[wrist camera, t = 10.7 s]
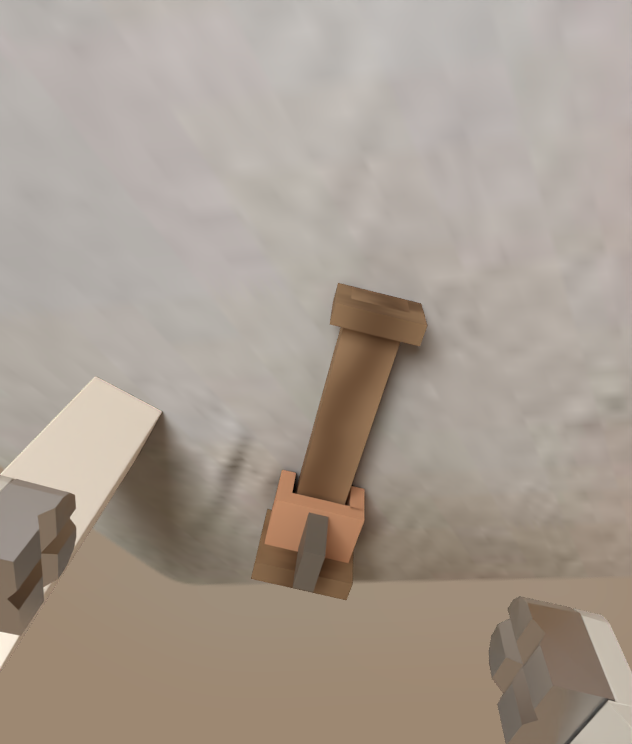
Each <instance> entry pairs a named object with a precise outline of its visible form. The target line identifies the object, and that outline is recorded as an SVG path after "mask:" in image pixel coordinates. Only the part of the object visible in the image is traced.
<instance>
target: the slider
mask: <svg viewBox="0 0 632 744" xmlns="http://www.w3.org/2000/svg"><path fill="white" fill-rule="evenodd" d="M295 475H296V473H294V472H290V471H285V470H282V472H281V476H280V480H279V484H278V488H277V492H276V496H275V500H274V504H273V508H272V512H271V516H270V521H269V525H268V530H267V534H266V539H265V543H264V544H267V545H271V546H275V547H280V548H284V549H288V550H293V551H297V552H298V553H297V560H296V567H295V574H294V581H293V588H296V589H300V590H305V591H309V592H313V591H314V588H315V585H316V582H317V579H318V576H319V573H320V570H321V567H322V565H323V562H324V559H325V558H328V559H332V560H336V561H341V562H345V563H349V560H350V558H351V555H352V552H353V550H354V547H355V544H356V542H357V539H358V536H359V534H360V531H361V528H362V525H363V523H364V489H362V488H358V487H353V486H351V488H350V491H349V493H348V496H347V499H346V502H345V505H342V504H338V503H334V502H330V501H325V500H321V499H317V498H312V497H308V496H304V495H299V494H295V493H292V492H293V486H294V481H295Z"/></svg>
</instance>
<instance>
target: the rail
mask: <svg viewBox="0 0 632 744" xmlns="http://www.w3.org/2000/svg"><path fill="white" fill-rule="evenodd" d="M330 324H331V325H335V326H339V327H341V328H340V332H339V335H338V339H337V343H336V346H335V350H334V353H333V357H332V361H331V364H330V368H329V372H328V375H327V379H326V382H325V386H324V390H323V393H322V397H321V401H320V404H319V408H318V411H317V415H316V419H315V422H314V426H313V430H312V433H311V437H310V440H309V444H308V448H307V451H306V455H305V459H304V462H303V466H302V469H301V473H300V477H299V480H298V484H297V488H296V491H295V494H299V495H304V496H308V497H312V498H317V499H321V500H325V501H330V502H334V503H338V504H342V505H345V502H346V499H347V496H348V493H349V491H350V488H351V485H352V482H353V479H354V476H355V473H356V470H357V467H358V464H359V461H360V458H361V455H362V453H363V450H364V447H365V444H366V441H367V438H368V435H369V432H370V429H371V426H372V423H373V420H374V417H375V415H376V412H377V409H378V406H379V403H380V400H381V397H382V394H383V391H384V388H385V385H386V382H387V379H388V377H389V374H390V371H391V368H392V365H393V362H394V359H395V356H396V353H397V350H398V347H399V344H400V342H404V343H408V344H412V345H416V346H420V344H421V342H422V339H423V336H424V333H425V331H426V328H427V323H426V319H425V316H424V312H423V309H422V305H421V303H417V302H413V301H409V300H405V299H401V298H397V297H393V296H389V295H385V294H381V293H377V292H373V291H369V290H365V289H360V288H356V287H352V286H348V285H344V284H340V283H338V285H337V289H336V293H335V297H334V301H333V306H332V312H331V319H330ZM271 512H272V510H269V509H267V513H266V517H265V521H264V525H263V530H262V534H261V538H260V542H259V547H258V551H257V555H256V560H255V564H254V568H253V572H252V577H251V579H255V580H259V581H264V582H268V583H272V584H277V585H281V586H286V587H290V588H293V581H294V574H295V567H296V560H297V553H298V552H297V551H293V550H288V549H284V548H280V547H275V546H271V545H267V544H264V543H265V539H266V534H267V530H268V525H269V521H270V516H271ZM352 584H353V552H352V555H351V558H350V560H349V563H345V562H341V561H336V560H332V559H328V558H325V559H324V562H323V565H322V567H321V570H320V573H319V576H318V579H317V582H316V585H315V588H314V591H313V592H312V593H317V594H321V595H325V596H330V597H334V598H339V599H343V600H347V597H348V595H349V592H350V589H351V587H352ZM295 589H296V588H295ZM299 590H300V589H299ZM303 591H305V590H303ZM308 592H309V591H308Z"/></svg>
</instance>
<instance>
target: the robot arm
mask: <svg viewBox="0 0 632 744" xmlns="http://www.w3.org/2000/svg"><path fill="white" fill-rule="evenodd" d="M75 509H76V501H75V495H74V494H72V493H70V492H66V491H62V490H58V489H54V488H50V487H46V486H43V485H39V484H35V483H31V482H27V481H23V480H19V479H14V478H10V477H6V476H2V475H0V632H4V633H9V634H14V635H19V636H21V635H22V634H23V632H24V631H25V629H26V628H27V626H28V625H29V623H30V622H31V620H32V619H33V617H34V616H35V614H36V613H37V611H38V609H39V608H40V606H41V605H42V603H43V602H44V589H43V587H45V586H47V585H48V584H50V583H52V582H54V581H56V580H57V579H59V577H60V576H61V574H62V572H63V571H64V569H65V568H66V566H67V564H68V562H69V559H70V557H71V554H72V552H73V550H74V546H75V541H76V525H75V524H74V523H73V522H72V520H71V519H70V516H71V515H72V514H73V512H74V511H75ZM508 612H509V615H510V619H508V620H506V621H504V622H501V623H499V624H498V625H497V627H496V629H495V631H494V633H493V634H492V636H491V642H490V648H489V665H490V670H491V675H492V679H493V680H494V682H495V683H496V684H497V685H498V687H499V688H500V690H501V691H502V692H503V695H502V697H501V698H500V700H499V702H498V710H499V714H500V719H501V724H502V729H503V733H504V738H505V743H506V744H632V672H631V670H630V667H629V665H628V663H627V661H626V658H625V657H624V654H623V652H622V650H621V648H620V645H619V643H618V641H617V639H616V637H615V634H614V632H613V630H612V628H611V626H610V624H609V622H608V621H607V619H606V618H604V616H603V615H600V614H596V613H591V612H587V611H582V610H578V609H572V608H570V607H566V606H562V605H557V604H552V603H548V602H543V601H539V600H534V599H530V598H525V597H518V598H516V599H514V600H513V601H512V603H511V604H510V606H509V607H508Z"/></svg>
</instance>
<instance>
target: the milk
mask: <svg viewBox="0 0 632 744" xmlns="http://www.w3.org/2000/svg"><path fill="white" fill-rule="evenodd" d="M161 413H162V411H161V410H159V409H157V408H155V407H153V406H151V405H149V404H147V403H146V402H144V401H142V400H140V399H138V398H136V397H134V396H132V395H130V394H129V393H127V392H125V391H123V390H121V389H119V388H117V387H115V386H113V385H112V384H110V383H108V382H106V381H104V380H102V379H100V378H98V377H96V376H95V377H94V378H93V379H92V380H91V381H90V382H89V383H88V384H87V385H86V386H85V387H84V388H83V389H82V390H81V391H80V392H79V393H78V394H77V395H76V396H75V398H74V399H73V400H72V401H71V402H70V403H69V404H68V405H67V406H66V407H65V408H64V409H63V410H62V411H61V412H60V413H59V414H58V415H57V416H56V417H55V418H54V419H53V420H52V421H51V422H50V423H49V424H48V425H47V426H46V427H45V428H44V429H43V431H42V432H41V433H40V434H39V435H38V436H37V437H36V438H35V439H34V440H33V441H32V442H31V443H30V444H29V445H28V446H27V447H26V448H25V449H24V450H23V451H22V452H21V453H20V454H19V455H18V456H17V457H16V458H15V459H14V460H13V461H12V462H11V463H10V465H9V466H8V467H7V468H6V469H5V470H4V471H3V472H2V473H1V474H0V475H2V476H6V477H10V478H14V479H19V480H23V481H27V482H31V483H35V484H39V485H43V486H46V487H50V488H54V489H58V490H62V491H66V492H70V493H72V494H74V495H75V501H76V509H75V511H74V512H73V514H72V515H71V516H70V519H71V520H72V522H73V523H74V524H75V525H76V541H75V546H74V550H73V552H72V554H71V557H70V559H69V562H68V564H67V566H66V568H65V569H64V571H63V572H62V574H61V576H60V577H59V579H57V580H56V581H54V582H52V583H50V584H48V585H47V586H45V587H43V589H44V602H43V603H42V605H41V606H40V608H39V609H38V611H37V613H36V614H35V616H34V617H33V619H32V620H31V622H30V623H29V625H28V626H27V628H26V629H25V631H24V632H23V634H22V635H21V636H19V635H14V634H9V633H4V632H0V671H2V670H3V668H4V667H5V665H6V664H7V662H8V660H9V659H10V658H11V656H12V654H13V653H14V651H15V650H16V648H17V646H18V645H19V643H20V642H21V640H22V639H23V637H24V635H25V634H26V632H27V631H28V629H29V627H30V626H31V624H32V622H33V621H34V620H35V618H36V616H37V615H38V613H39V612H40V610H41V608H42V607H43V605H44V604H45V602H46V600H47V599H48V597H49V596H50V594H51V592H52V591H53V590H54V588H55V586H56V585H57V583H58V581H59V580H60V578H61V577H62V575H63V574H64V572H65V570H66V569H67V567H68V566H69V564H70V563H71V561H72V559H73V558H74V556H75V554H76V553H77V552H78V550H79V548H80V547H81V545H82V543H83V542H84V540H85V539H86V537H87V536H88V534H89V533H90V531H91V529H92V528H93V526H94V525H95V523H96V522H97V520H98V518H99V517H100V515H101V514H102V512H103V510H104V509H105V507H106V506H107V504H108V503H109V501H110V499H111V498H112V496H113V495H114V493H115V491H116V490H117V488H118V487H119V485H120V484H121V482H122V480H123V479H124V477H125V476H126V474H127V472H128V471H129V469H130V468H131V466H132V465H133V463H134V461H135V460H136V458H137V456H138V454H139V453H140V451H141V449H142V447H143V446H144V444H145V442H146V440H147V438H148V437H149V435H150V433H151V431H152V429H153V428H154V426H155V424H156V422H157V420H158V419H159V417H160V415H161Z"/></svg>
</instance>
